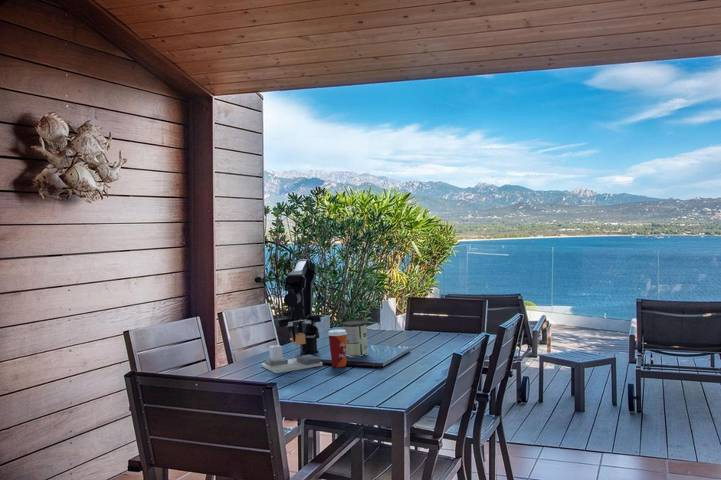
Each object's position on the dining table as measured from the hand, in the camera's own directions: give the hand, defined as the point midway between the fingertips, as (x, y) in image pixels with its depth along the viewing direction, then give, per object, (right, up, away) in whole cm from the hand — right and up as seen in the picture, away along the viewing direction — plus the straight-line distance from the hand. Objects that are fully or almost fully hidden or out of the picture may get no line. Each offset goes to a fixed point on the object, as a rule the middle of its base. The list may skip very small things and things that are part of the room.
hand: (299, 341), depth 281 cm
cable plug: (-2, -1, +3) cm, 4 cm away
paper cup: (+17, -8, -12) cm, 22 cm away
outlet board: (-2, -9, -7) cm, 12 cm away
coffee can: (+24, -7, +7) cm, 26 cm away
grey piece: (+4, -7, -7) cm, 11 cm away
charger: (-9, -8, -6) cm, 13 cm away
